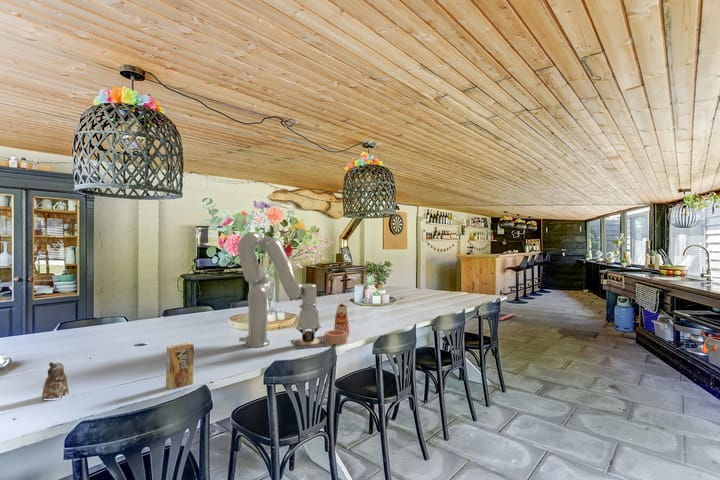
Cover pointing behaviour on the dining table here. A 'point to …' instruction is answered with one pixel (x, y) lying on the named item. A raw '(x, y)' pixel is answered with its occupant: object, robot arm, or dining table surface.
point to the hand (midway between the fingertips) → (308, 340)
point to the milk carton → (342, 319)
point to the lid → (308, 340)
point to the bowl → (335, 337)
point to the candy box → (179, 365)
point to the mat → (309, 346)
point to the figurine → (55, 382)
